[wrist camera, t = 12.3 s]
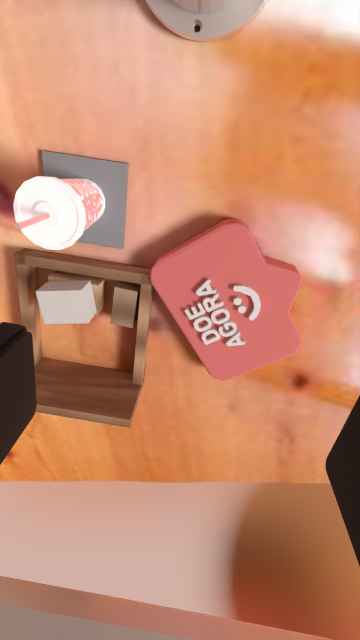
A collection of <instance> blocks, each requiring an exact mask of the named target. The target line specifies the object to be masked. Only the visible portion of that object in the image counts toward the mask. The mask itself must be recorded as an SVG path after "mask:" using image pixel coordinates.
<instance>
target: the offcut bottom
mask: <svg viewBox="0 0 360 640" xmlns="http://www.w3.org/2000/svg"><path fill="white" fill-rule="evenodd" d="M86 280H91V285H92V290H93V296H94V301H95V306H96V311H97V312H96V313H95V316H97V315H98V314H99V312H100V311H101V310H102V308H103V307H104V297H105V282H106V278H101V277H95V276H89V275H82V274H76V273H70V272H64V271H58V270H55V271H54V272H52V273H51V274H50V275H48V282H52V281H86Z"/></svg>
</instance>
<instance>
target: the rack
mask: <svg viewBox="0 0 360 640" xmlns="http://www.w3.org/2000/svg"><path fill="white" fill-rule="evenodd" d="M15 263H16V273H17V283H18V293H19V303H20V313H21V323H22V325H23V326H25V327H26V329H27V331H28V332H31V333H32V337H33V352H34V368H35V384H36V400H37V407H36V411H35V412H40V413H46V414H52V415H58V416H63V417H69V418H75V419H81V420H87V421H93V422H99V423H105V424H110V425H116V426H122V427H128V428H130V425H131V421H132V418H133V415H134V411H135V408H136V405H137V402H138V398H139V395H140V392H141V389H142V385H143V382H144V374H145V365H146V355H147V346H148V336H149V327H150V317H151V307H152V298H153V288H154V287H153V285H152V284H151V280H150V272H151V269H152V268H145V267H139V266H133V265H127V264H120V263H114V262H108V261H102V260H95V259H89V258H83V257H77V256H70V255H64V254H58V253H52V252H45V251H39V250H33V249H27V248H25V249H23V250H21V251H19V252H17V253H15ZM36 267H39V268H45V269H51V270H58V271H64V272H70V273H76V274H82V275H89V276H95V277H101V278H107V279H113V280H120V281H126V282H132V283H138V284H141V289H140V301H139V313H138V324H137V336H136V348H135V360H134V371H133V373H132V372H126V371H120V370H114V369H108V368H102V367H96V366H90V365H84V364H78V363H72V362H66V361H60V360H54V359H48V358H42V343H41V329H40V315H39V303H38V299H37V295H36V292H35V291H37V290H38V287H37V273H36Z"/></svg>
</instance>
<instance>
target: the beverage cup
mask: <svg viewBox="0 0 360 640" xmlns="http://www.w3.org/2000/svg"><path fill="white" fill-rule="evenodd" d="M13 207H14V213H15V219H16V221H17V223H16V224H15V225H14V228H15V229H16V230H20V229H21V230H22V232H23V234H24V235H26V236H27V237H28V238H29V239H30V240H31V241H32V242H33V243H34V244H36V245H39V246H41V247H43V248H45V249H51V250H61V249H64V248H67V247H69V246H72V245H73V244H74V243H75V242H76V241H77V240H78V239H79V238H80V237H81V236H82V234H83V232H84V231H85V230H86V229H87V228H88V227H90V226H91V225H92V224H93V223H94V222H95V221H97V220H98V219H99V218H100V217H101V215H102V214H103V212H104V209H105V197H104V195H103V193H102V190H101V189H100V188H99V187H98V186H97V185H96V184H95V183H94V182H92V181H90V180H88V179H58V178H56V177H46V176H36V177H34V178H32V179H29V180H27V181H25V182H24V183H23V184H22V185H21V186H20V188H19V189H18V190H17V191H16V195H15V199H14V204H13Z"/></svg>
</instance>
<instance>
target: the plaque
mask: <svg viewBox="0 0 360 640" xmlns="http://www.w3.org/2000/svg"><path fill="white" fill-rule="evenodd" d="M150 280H151V284H152V285H153V287H154V288H155V290H156V291H157V293H158V294H159V296H160V298H161V299H162V301H163V302H164V304H165V305H166V307H167V309H168V310H169V312H170V313H171V315H172V316H173V318H174V319H175V321H176V323H177V324H178V326H179V327H180V329H181V330H182V332H183V333H184V335H185V337H186V338H187V340H188V341H189V343H190V344H191V346H192V348H193V349H194V351H195V352H196V354H197V355H198V357H199V358H200V360H201V362H202V363H203V365H204V366H205V368H206V369H207V371H208V372H209V374H210V375H211V376H212V377H214V378H215V379H219V380H229V379H232V378H234V377H237V376H239V375H242V374H245V373H247V372H250V371H252V370H255V369H257V368H260V367H263V366H265V365H268V364H270V363H273V362H276V361H278V360H281V359H283V358H286V357H288V356H290V355H292V354H294V353H295V352H296V351H297V350H298V349H299V347H300V345H301V337H300V335H299V333H298V330H297V328H296V326H295V324H294V322H293V319H292V317H291V315H290V313H289V310H290V308H291V306H292V303H293V301H294V299H295V296H296V294H297V292H298V290H299V287H300V285H301V283H302V276H301V274H300V273H299V271H298V270H297V269H296V267H295V266H293V265H291V264H288V263H285V262H281V261H278V260H275V259H272V258H269V257H265V256H263V255H262V254H261V253H260V251H259V249H258V247H257V245H256V243H255V241H254V238H253V236H252V234H251V232H250V230H249V228H248V226H247V225H246V224H245V223H244V222H242V221H241V220H238V219H232V218H229V219H226V220H222V221H221V222H219V223H217V224H215V225H214V226H212V227H210V228H208V229H207V230H205V231H203V232H201V233H199V234H198V235H196V236H194V237H192V238H191V239H189V240H187V241H185V242H184V243H182V244H180V245H178V246H177V247H175V248H173V249H171V250H169V251H168V252H166V253H164V254H162V255H161V256H160V257H159V258H157V260H156V262H155V264H154V266H153V267H152V269H151V272H150Z"/></svg>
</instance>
